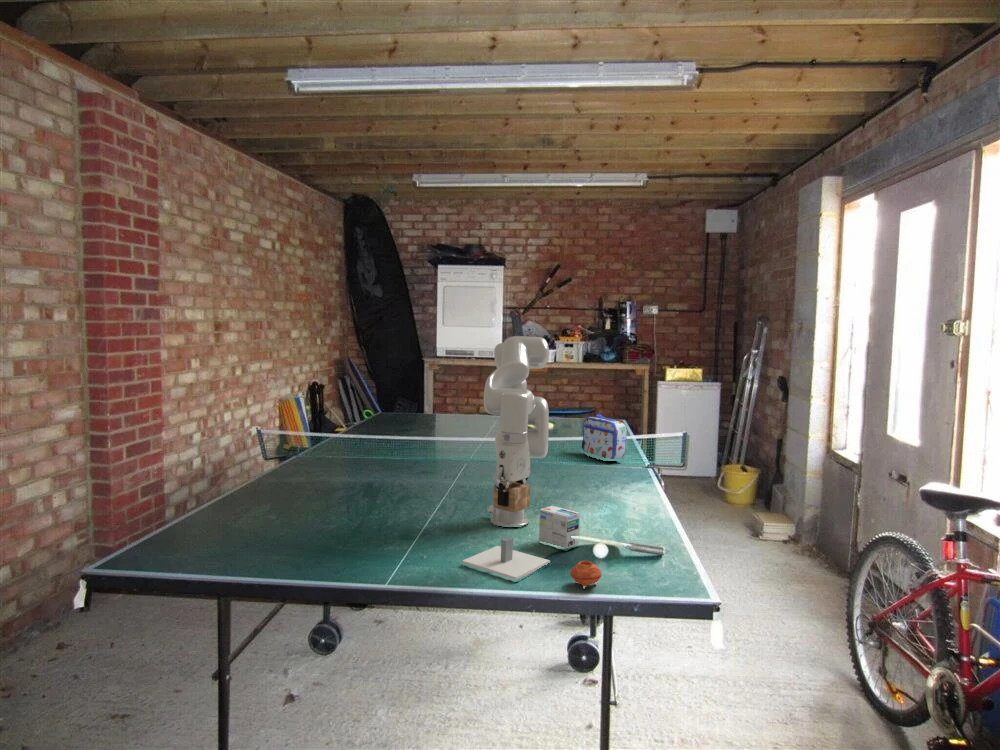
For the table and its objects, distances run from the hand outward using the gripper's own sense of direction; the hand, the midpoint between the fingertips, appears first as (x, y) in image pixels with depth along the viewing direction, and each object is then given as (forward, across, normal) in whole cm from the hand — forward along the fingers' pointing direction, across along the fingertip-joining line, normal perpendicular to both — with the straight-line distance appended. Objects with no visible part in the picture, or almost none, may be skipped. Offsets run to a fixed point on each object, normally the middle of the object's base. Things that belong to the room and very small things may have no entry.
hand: (511, 502), depth 176 cm
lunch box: (+18, +149, +50) cm, 158 cm away
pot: (+18, +2, -23) cm, 29 cm away
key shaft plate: (+18, -1, +1) cm, 18 cm away
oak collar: (+1, 0, 0) cm, 1 cm away
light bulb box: (+18, +23, -2) cm, 30 cm away
